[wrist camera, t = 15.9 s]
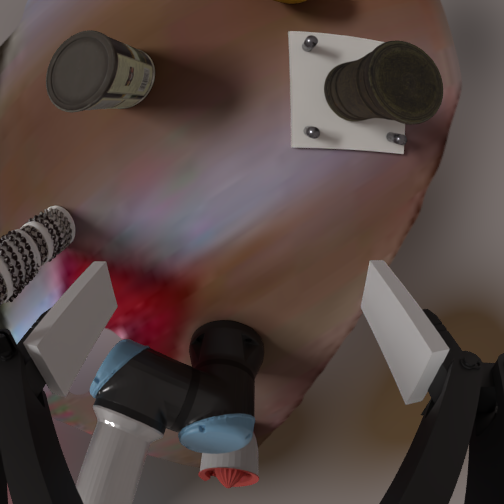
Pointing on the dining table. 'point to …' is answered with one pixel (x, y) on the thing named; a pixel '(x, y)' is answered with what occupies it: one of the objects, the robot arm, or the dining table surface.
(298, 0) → the apple
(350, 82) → the container
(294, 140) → the locating plate
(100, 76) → the coffee can
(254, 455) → the citrus juicer
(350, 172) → the dining table surface
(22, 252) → the decorative candle
